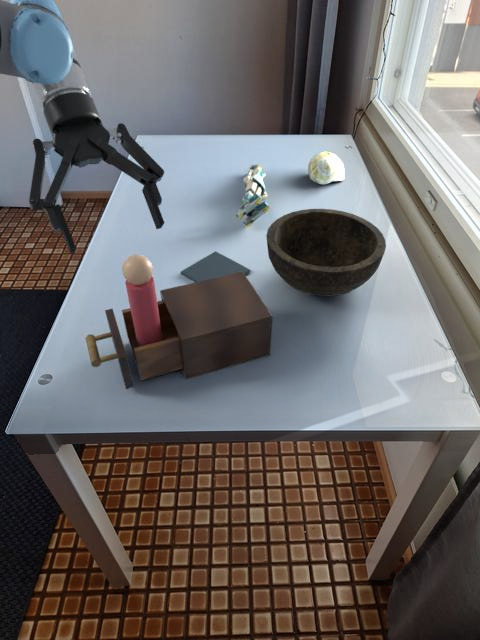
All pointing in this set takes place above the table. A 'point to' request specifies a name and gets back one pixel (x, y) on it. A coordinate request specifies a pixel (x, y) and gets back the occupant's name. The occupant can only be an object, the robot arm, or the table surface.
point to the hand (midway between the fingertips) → (118, 238)
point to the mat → (213, 268)
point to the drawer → (147, 357)
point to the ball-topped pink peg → (142, 299)
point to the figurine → (253, 196)
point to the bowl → (324, 250)
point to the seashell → (325, 168)
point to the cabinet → (219, 323)
